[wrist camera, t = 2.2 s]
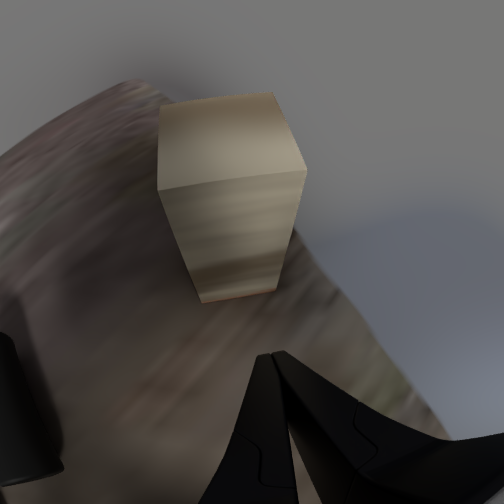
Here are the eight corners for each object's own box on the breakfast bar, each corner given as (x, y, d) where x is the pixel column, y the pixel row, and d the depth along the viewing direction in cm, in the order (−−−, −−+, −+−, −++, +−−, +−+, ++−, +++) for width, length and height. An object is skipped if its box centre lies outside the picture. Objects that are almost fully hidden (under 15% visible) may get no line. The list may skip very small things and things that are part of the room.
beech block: (275, 290, 20) (307, 169, 10) (201, 303, 20) (157, 190, 9) (260, 228, 22) (272, 92, 12) (193, 239, 22) (160, 106, 11)
